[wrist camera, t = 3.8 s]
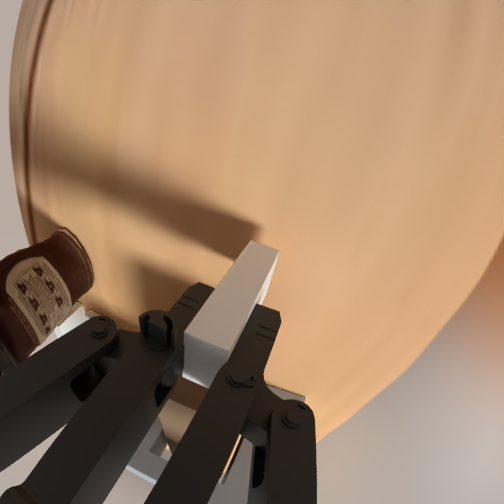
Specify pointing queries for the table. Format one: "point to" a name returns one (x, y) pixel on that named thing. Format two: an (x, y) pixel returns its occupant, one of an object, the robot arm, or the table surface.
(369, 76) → the table surface
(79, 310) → the cradle
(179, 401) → the walnut bar
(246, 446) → the bore block
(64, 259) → the coffee cup
